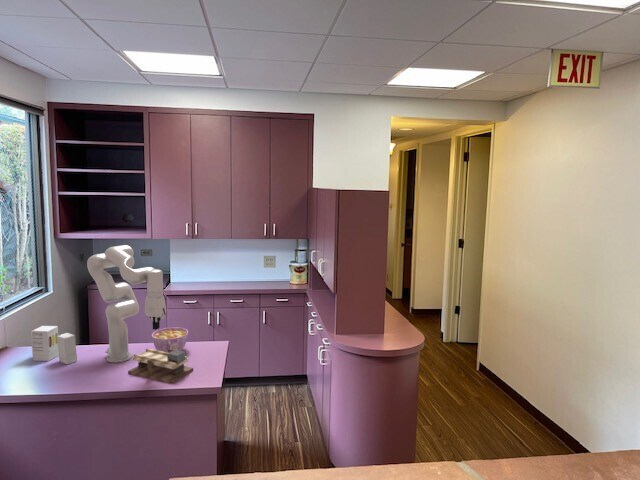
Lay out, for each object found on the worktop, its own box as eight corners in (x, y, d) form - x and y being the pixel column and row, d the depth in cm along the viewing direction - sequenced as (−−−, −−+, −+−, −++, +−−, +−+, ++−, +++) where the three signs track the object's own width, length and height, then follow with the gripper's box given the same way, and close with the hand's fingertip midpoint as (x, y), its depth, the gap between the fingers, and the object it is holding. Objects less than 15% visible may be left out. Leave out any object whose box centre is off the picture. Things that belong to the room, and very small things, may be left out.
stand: (128, 373, 219) (127, 356, 218) (150, 361, 234) (150, 345, 233) (172, 383, 209) (172, 365, 208) (193, 370, 224) (192, 353, 223)
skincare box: (77, 361, 233) (76, 335, 231) (66, 365, 228) (64, 338, 226) (69, 357, 237) (67, 331, 235) (57, 361, 232) (56, 335, 230)
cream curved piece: (130, 361, 219) (130, 356, 219) (150, 351, 232) (150, 346, 231) (172, 370, 210) (172, 365, 210) (189, 360, 223) (189, 355, 222)
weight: (167, 362, 216) (167, 353, 215) (175, 357, 221) (175, 349, 220) (177, 364, 213) (177, 355, 213) (185, 359, 219) (184, 351, 218)
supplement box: (49, 361, 232) (47, 331, 230) (32, 361, 232) (30, 331, 230) (60, 354, 241) (58, 325, 239) (43, 354, 242) (42, 325, 239)
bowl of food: (177, 360, 236) (176, 340, 234) (144, 357, 240) (144, 337, 238) (195, 347, 255) (194, 328, 254) (164, 344, 259) (164, 326, 258)
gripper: (138, 293, 216) (139, 328, 218) (162, 297, 211) (162, 333, 213) (148, 290, 223) (149, 324, 225) (172, 293, 218) (173, 328, 220)
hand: (156, 328), depth 219 cm, fingers closed
